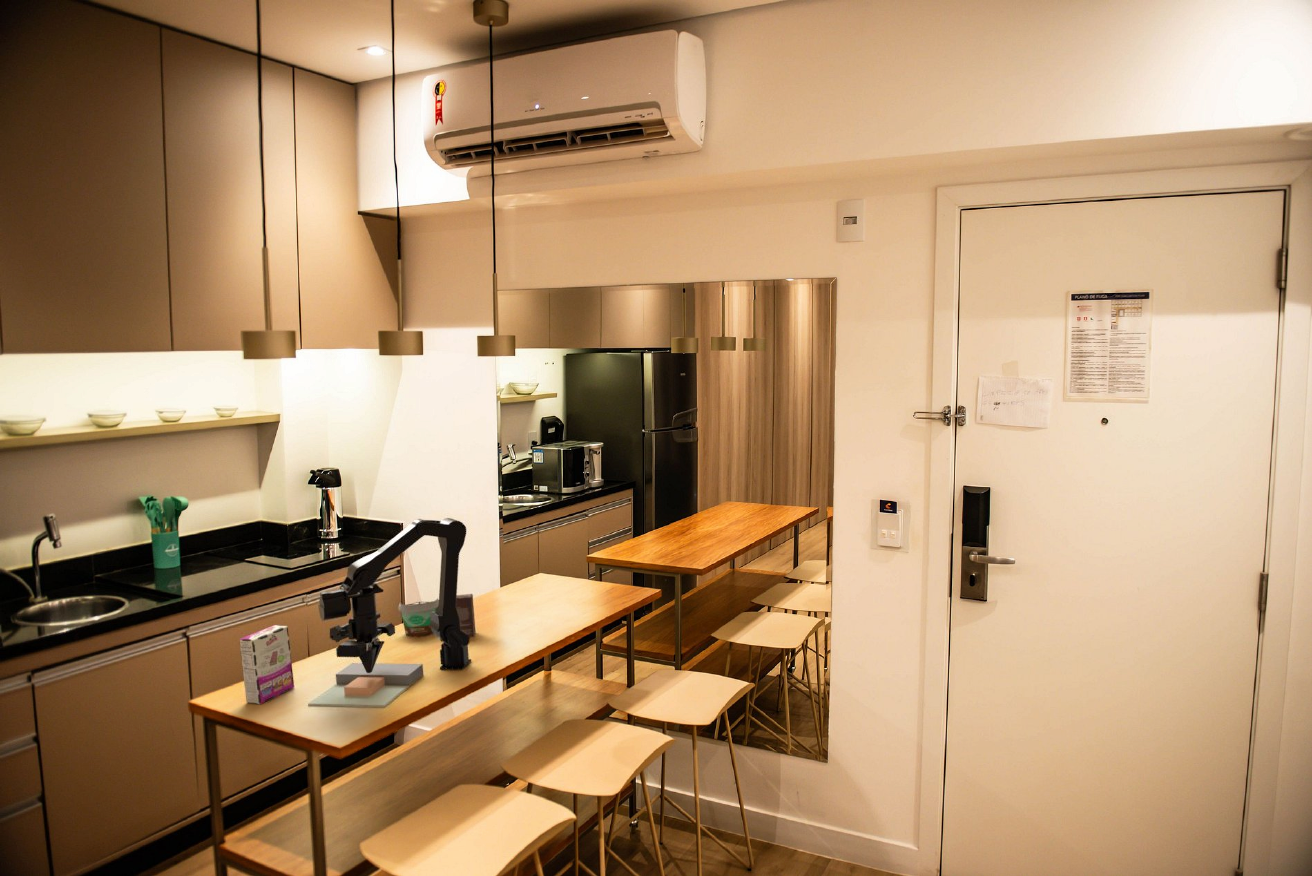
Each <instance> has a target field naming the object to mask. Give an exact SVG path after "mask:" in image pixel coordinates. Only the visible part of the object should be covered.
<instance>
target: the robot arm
mask: <svg viewBox="0 0 1312 876" xmlns="http://www.w3.org/2000/svg"><path fill="white" fill-rule="evenodd" d="M425 536H426V537H427V536H429V537H434V538H437V541H438V544H439V549H440V551H441V552H440V553H441V559H440V560H441V561H440V573H439V574H440V575H439V593H438V600H439V605H438V607H437V609H436V612H430V617H431V621H430V624H429V627H431V629H432V632H433V634H432V635H434V636H436V638H438V639H439V641H440V642H441V643H442V644H441V645H440V649H439V653H440V654H439V658H440V664H441V666H440V667H439V670H464V669H465V668H466V667H467V666H468V665H469V664H470V663H471V662H472V659H469V658H470V656H469V646H468V645H469V644H470V638H471V636H468V635H466V634H465V633H464V632H462V631H461V628H460V619H459V615H458V612H457V609H456V598H457V595H458V578H459V577H458V576H459V563H460V562H459V560H460V553H461V551H462V548H463V546H464V545H465V541H466V536H467V527H466V525H465V524H464V523H463V522H461V520H457V519H454V518H452V517H451V518H450V517H446V518H444V519H441V520H431V519H422V518H416V519H414V520H413V521H412V523H410V524H409V525H408V526H407V527H405V528H404V529H403V530H401V531H400V532H399V533H398V534H397V535H395V536H394V537H393V538H391V539H390V540H389V541H388V542H386V543H385V544H384V545H382V547H380V548H379V549H378V550H377V551H375V552H373V553H370V554H368V555H366V556H363V557H362V558H361V557H360V559H357V560H356V561H354V562H353V563H351V564H350V565H349V566H348V568H347V572H346V574H347V575H346V577H345V578H344V579H343V582H342V583H341V585H340V586H339V589H336V590H332V591H322V592H320V593H319V597H320V598H318V599H319V600H318V606H317V607H318V613H319V616H320V619H321V621H322V622H324V621H329V620H333V619H339V618H344V617H347V616H348V614H350V612H351V611H352V613H351V614H352V617H350V618H349V619H348V622H347V623H345V624H342V625H339V624H337V625H335V626H332V627H331V628H329V639H330V640H332V641H334V642H335V643H336V644H337V643H339V642H340V641H342V640H345V639H347V638H348V640H345V641H344V642H342V643H340V644H339V645H338V646H337V647H336V649H335V651H336V652H335V655H336V658H359V659H360V663H362V664H363V666H364V668H365V670H366V672H367V673H371V672H372V671H373V668H374V665H375V663H377V660H378V657H379V655H380V652H381V651H382V648H383V645H384V644H385V641H384V640H380V638H379V637H380V636H381V635H384V634H386V636H387V637H392V636H393V635H395V634H396V626H395V624H393V623H392V622H378V619H380V618H381V613H380V612H379V613H377V604H376V603H377V600H376V599H377V598H376V594H381V593H384V589H383V588H382V587H380V586H379V585H378V584H377V583H376V581H377V580H378V579H379V578H380V577H381V575H382V574H383V572H384V571H385V569H386V568H387V567H388V566H389V564H390V563H392V562H393V561H394V560H395V559H396V558H398V557H399V556H401V555H402V554H403V553H404V552H405V551H407V550H408V549H409V548H411V546H413V545H414V544H415V543H417V542H418V541H419V540H421V539H422V538H423V537H425Z"/></svg>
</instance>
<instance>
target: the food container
mask: <svg viewBox="0 0 1312 876" xmlns="http://www.w3.org/2000/svg"><path fill="white" fill-rule="evenodd" d="M438 605H439V597H437V598H436V599H435V600H433V601H432V600H431V601H416V602H413V603H408V604H407V603H406V604H402V603H401V602H399V604H398V608H397V609H398V611H399V612H401V617H402V623H403V628H404V633H405V634H404V635H405V636H406V637H408V636H409V638H422V637H421V636H423V637H427V636H430V635H431V636H432V635H434V634H433V632H432V629H431V627H429V624H430V621H431V617H430V612H436V609H437V607H438Z"/></svg>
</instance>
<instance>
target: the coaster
mask: <svg viewBox="0 0 1312 876" xmlns="http://www.w3.org/2000/svg"><path fill="white" fill-rule="evenodd" d="M384 685H385V678H384V677H358V678H356V679H355V680H354V681H352V682H351V683H349V684H348V685H346V686H345V687H344V694H345V695H360V696H371V695H372V694H374V693H375V692H376V691H378V690H379V689H380V688H381V687H383V686H384Z"/></svg>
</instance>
